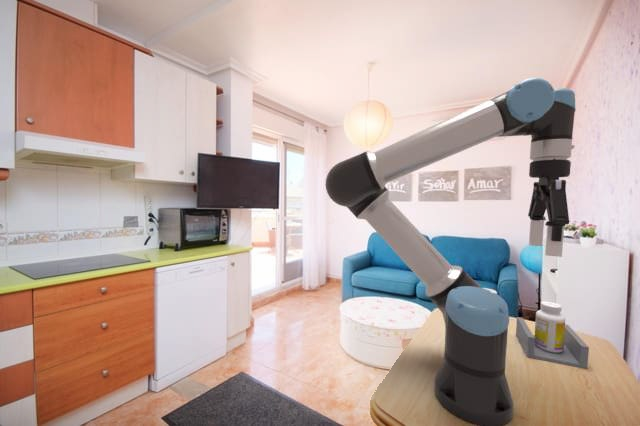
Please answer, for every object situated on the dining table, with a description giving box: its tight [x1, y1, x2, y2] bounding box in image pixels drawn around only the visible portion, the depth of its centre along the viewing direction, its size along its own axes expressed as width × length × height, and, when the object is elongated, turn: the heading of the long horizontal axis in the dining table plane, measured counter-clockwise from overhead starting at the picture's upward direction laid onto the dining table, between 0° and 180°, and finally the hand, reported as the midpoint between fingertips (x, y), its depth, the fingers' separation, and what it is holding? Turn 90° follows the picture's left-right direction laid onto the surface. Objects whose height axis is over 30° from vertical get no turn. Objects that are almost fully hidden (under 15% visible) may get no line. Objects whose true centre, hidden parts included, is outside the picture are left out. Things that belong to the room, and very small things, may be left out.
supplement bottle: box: [534, 301, 566, 353], centre depth 83 cm, size 7×7×13 cm
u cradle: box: [515, 316, 590, 370], centre depth 84 cm, size 13×14×6 cm
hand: (543, 250), depth 69 cm, fingers open, 13 cm apart
